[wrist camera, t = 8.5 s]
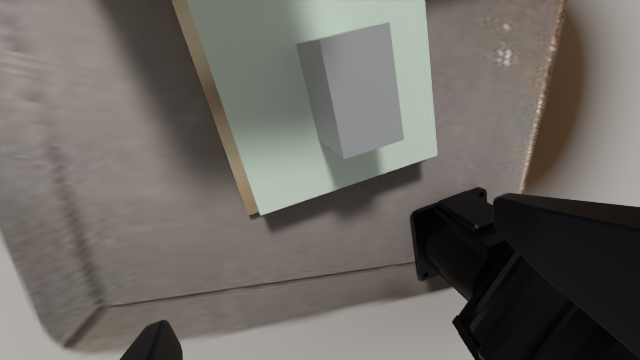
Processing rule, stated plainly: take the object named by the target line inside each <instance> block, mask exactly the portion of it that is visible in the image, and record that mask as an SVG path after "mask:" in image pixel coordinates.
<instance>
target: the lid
mask: <svg viewBox="0 0 640 360" xmlns="http://www.w3.org/2000/svg"><path fill="white" fill-rule="evenodd" d="M187 2H188V5H189V8H190V11H191V14H192V17H193V20H194V23H195V26H196V29H197V32H198V35H199V37H200V40H201V43H202V46H203V49H204V52H205V55H206V58H207V61H208V64H209V67H210V70H211V73H212V76H213V78H214V81H215V84H216V87H217V90H218V93H219V96H220V99H221V102H222V105H223V108H224V111H225V114H226V116H227V119H228V122H229V125H230V128H231V131H232V134H233V137H234V140H235V143H236V146H237V149H238V152H239V155H240V157H241V160H242V163H243V166H244V169H245V172H246V175H247V178H248V181H249V184H250V187H251V190H252V193H253V195H254V198H255V201H256V204H257V207H258V210H259V213H260V216H261V215H264V214H267V213H270V212H273V211H276V210H279V209H282V208H285V207H288V206H291V205H294V204H296V203H299V202H302V201H305V200H308V199H311V198H314V197H317V196H320V195H323V194H326V193H329V192H332V191H335V190H337V189H340V188H343V187H346V186H349V185H352V184H355V183H358V182H361V181H364V180H367V179H370V178H373V177H376V176H378V175H381V174H384V173H387V172H390V171H393V170H396V169H399V168H402V167H405V166H408V165H411V164H414V163H417V162H419V161H422V160H425V159H428V158H431V157H434V156H437V143H436V131H435V118H434V106H433V94H432V81H431V69H430V57H429V44H428V32H427V20H426V8H425V0H187Z"/></svg>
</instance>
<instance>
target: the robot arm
mask: <svg viewBox="0 0 640 360" xmlns="http://www.w3.org/2000/svg"><path fill="white" fill-rule="evenodd" d="M479 193H480V194H479ZM419 215H420V216H419ZM417 216H419V218H417ZM411 223H412V231H413V239H414V247H415V255H416V263H417V271H418V276H419V277H420V278H421V279H422V280H427V279H429V278H432V277H434V276H436V275H439V274H440V275H441V276H442V277H443V278H444V279H445V280H446V281H447V282H448V283H449V284H451V285H452V286H453V287H454V288H455V289H456V290H457V291H458V292H459V293H460V294H461V295H462V296H463V297H464V298H465V299H466V300H467V301H468V302H467V304H466V305H465V307H464V308H463V310H462V311H461V313H460V314H459V315H457V316H456V317H455V318H454V320H453V321H452V323H453V324H454V326H455V328H456V329H457V331H458V332H459V335H460V337H461V338H462V340H463V341H464V343H465V345H466V346H467V347H468V349H469V351H470V352H471V354H472V356H473V357H474V359H475V360H640V207H633V206H624V205H615V204H606V203H596V202H588V201H578V200H569V199H559V198H551V197H542V196H532V195H523V194H514V193H506V194H503V195H501V196H498V197H496V198H495V199H494V201H493V205H491V204H489V203H487V192H486V190H485V189H483V188H481V187H477V188H475V189H472V190H469V191H465V192H462V193H459V194H456V195H454V196H451V197H448V198H446V199H443V200H440V201H438V202H437V203H434V204H431V205H429V206H426V207H423V208H420V209H418V210H415V211H414V212H413V213H412V215H411ZM424 273H425V274H424ZM120 360H183V356H182V348H181V345H180V343H179V341H178V339H177V337H176V335H175V333H174V331H173V329H172V328H171V326H170V324H169V322H168V321H167V320H161V321H158V322H155V323H153V324H150V325H148V326H146V327H145V328H144V330H143V331H142V332H141V333H140V335H139V336H138V337H137V338H136V340H135V341H134V342H133V343H132V345H131V346H130V347H129V348H128V350H127V351H126V352H125V353H124V355H123V356H122V357H121V358H120Z"/></svg>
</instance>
